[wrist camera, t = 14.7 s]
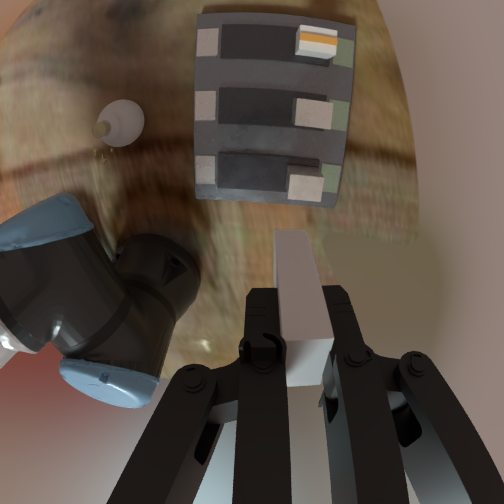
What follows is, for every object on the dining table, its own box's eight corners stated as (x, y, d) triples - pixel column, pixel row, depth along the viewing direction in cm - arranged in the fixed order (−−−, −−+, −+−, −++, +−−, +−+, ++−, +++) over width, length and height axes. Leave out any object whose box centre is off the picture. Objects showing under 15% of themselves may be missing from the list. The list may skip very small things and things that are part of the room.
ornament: (151, 95, 28) (111, 100, 20) (153, 149, 32) (117, 172, 24) (111, 101, 29) (65, 111, 20) (115, 152, 33) (73, 176, 24)
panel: (198, 194, 36) (185, 214, 30) (200, 17, 23) (186, 3, 17) (332, 203, 35) (343, 225, 30) (352, 28, 22) (369, 17, 17)
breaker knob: (294, 54, 23) (299, 48, 20) (296, 32, 22) (300, 24, 18) (327, 59, 23) (336, 54, 20) (328, 37, 22) (337, 30, 18)
